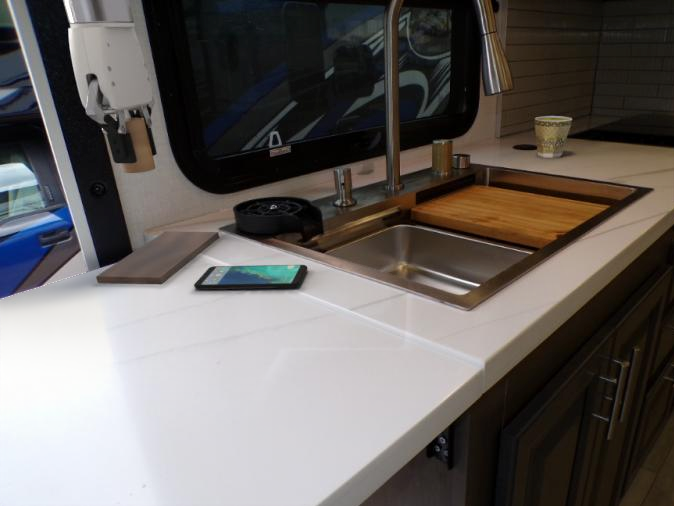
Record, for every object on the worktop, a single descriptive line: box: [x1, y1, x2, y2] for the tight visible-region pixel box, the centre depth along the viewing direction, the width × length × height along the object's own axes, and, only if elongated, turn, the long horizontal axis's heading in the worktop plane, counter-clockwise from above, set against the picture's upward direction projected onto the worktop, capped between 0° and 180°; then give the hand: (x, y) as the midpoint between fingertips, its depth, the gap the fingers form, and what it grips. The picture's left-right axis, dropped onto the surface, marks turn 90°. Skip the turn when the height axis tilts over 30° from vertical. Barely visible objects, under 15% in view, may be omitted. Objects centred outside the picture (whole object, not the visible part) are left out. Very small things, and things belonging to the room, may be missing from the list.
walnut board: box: [95, 230, 220, 285], centre depth 85 cm, size 10×20×1 cm, turn 174°
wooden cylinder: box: [114, 117, 156, 174], centre depth 75 cm, size 4×4×7 cm
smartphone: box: [193, 264, 308, 290], centre depth 76 cm, size 7×1×15 cm
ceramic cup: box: [534, 115, 573, 159], centre depth 148 cm, size 13×10×10 cm
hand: (136, 157), depth 76 cm, fingers closed on wooden cylinder, 4 cm apart
